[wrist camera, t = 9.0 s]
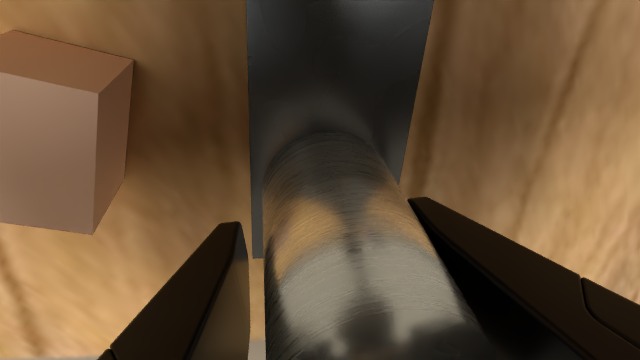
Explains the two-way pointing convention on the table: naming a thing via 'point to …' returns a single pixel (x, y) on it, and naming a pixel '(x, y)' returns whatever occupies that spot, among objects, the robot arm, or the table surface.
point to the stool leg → (345, 187)
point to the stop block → (60, 132)
